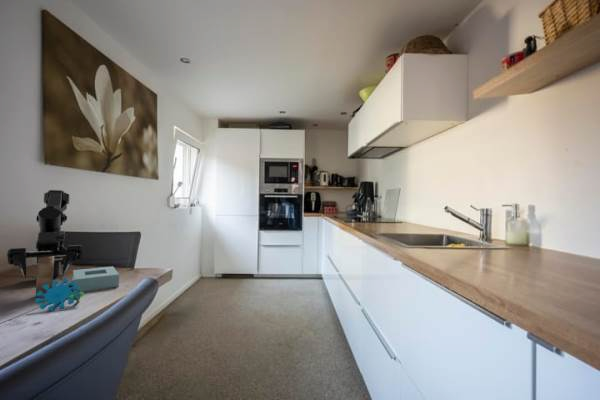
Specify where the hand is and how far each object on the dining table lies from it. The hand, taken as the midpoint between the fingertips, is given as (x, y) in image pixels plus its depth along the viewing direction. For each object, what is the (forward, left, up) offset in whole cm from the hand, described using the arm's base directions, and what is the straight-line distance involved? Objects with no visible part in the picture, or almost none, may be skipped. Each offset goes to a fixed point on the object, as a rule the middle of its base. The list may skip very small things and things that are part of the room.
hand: (44, 275), depth 90 cm
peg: (-1, 0, -7) cm, 7 cm away
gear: (+11, +10, -7) cm, 17 cm away
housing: (-12, +10, -7) cm, 17 cm away
